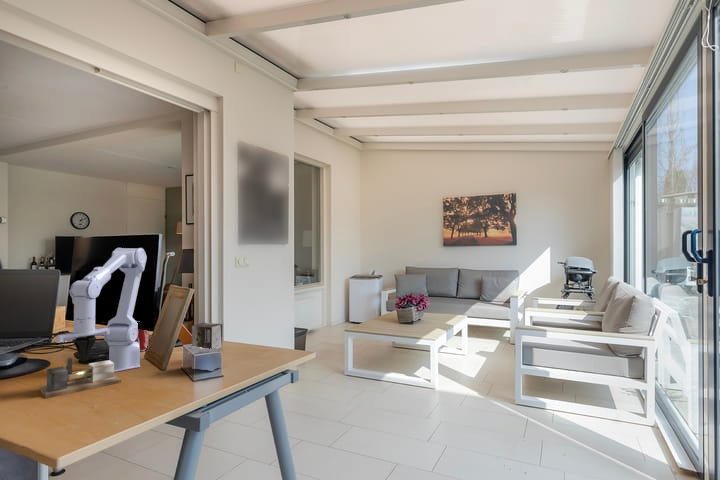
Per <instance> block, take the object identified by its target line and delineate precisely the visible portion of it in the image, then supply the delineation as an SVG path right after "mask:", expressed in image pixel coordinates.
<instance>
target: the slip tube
mask: <svg viewBox="0 0 720 480" xmlns="http://www.w3.org/2000/svg"><path fill="white" fill-rule="evenodd" d="M65 361H66V363H65V369H66V370H68V373H67V382H72V381H77V380H82V379H87V378H91V377H92V370H91V369H89V368H88V369H83V370H77V371H73V357H72V356H70V357H66V360H65Z"/></svg>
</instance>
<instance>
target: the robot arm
mask: <svg viewBox="0 0 720 480" xmlns="http://www.w3.org/2000/svg"><path fill="white" fill-rule="evenodd" d="M147 258H148V257H147V254H146V251H145V249H144V248H143V247H138V248H128V247H127V248H126V247H125V248H124V247H123V248H122V247H117V248H115V249H114V250H113V251H112V253H111V257H110V258H109V259H108V260H107V261H106V262H105V263H104V264H103V266H96V267H94V268H93V270H91V272H89V273H88V274H87V275H85V276H84V277H83V278H82V279H81V280H76V281H75V282H73V283H72V284H71V285H70V289H69V295H70V297H71V299H72V302H71V303H72V304H73V331H71V332H68V333H67V332H66V333H63V334H59V335H56V342H57V343H63V342H67V341H72V343H73V345H74V346H75V348H76V350H77V352H78V356H79V361H80V362H87V361H89V357H90V354H91V351H92V349H93V347H94V345H95V343H96V341H97V336H102V335H103V339H104V341H105V342H106V343H107V346H108V347H109V349H108V350H109V352H108V353H109V354H108V355H109V356H108V359H109V360H110V361H112V362H113V363H114V373H116V372H121V371H127V370H131V369H137V368H141V365H140V363H141V362H140V361H141V360H140V358H141V357H140V356H141V352H140V347H139V344H138V342H135V340H136V339H137V336H138V323H137V322H138V321H137V320H135V318H134V317H133V314H134V310H135V306H136V301H137V296H138V291H139V287H140V282H141V278H142V273H143V272H144V271H145V268H146V267H145V266H146V263H147ZM118 269H119V270H120V271H121V272H123V273H124V275H125V277H124V281H123V285H122V290H121V293H120V299H119V302H118V307H117V311H116V315H115V316H114V317H113V318H111V319H110V320H108V322H107V326H106V327H103V328H101V327H100V328H96V301H97V300H96V298H98V297H99V295H100V293H101V290H102V288H103V287H104V286H105V284H107V283H108V282H109V281H110V280H111V279H112V278H111V277H112V274H113V273H114V272H115V271H116V270H118Z"/></svg>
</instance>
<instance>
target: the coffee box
mask: <svg viewBox="0 0 720 480" xmlns="http://www.w3.org/2000/svg"><path fill="white" fill-rule="evenodd" d="M223 325H224V323H213V322H200V323H197V324H194V325H191V347H192V346H196V347H202V348H209V349H210V348H211V349H212V348H216V349H218V350H219V351H221V355H222V356H223Z"/></svg>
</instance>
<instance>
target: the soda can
mask: <svg viewBox="0 0 720 480" xmlns="http://www.w3.org/2000/svg"><path fill="white" fill-rule="evenodd" d="M149 331H150V330H149ZM149 331H147V330H140V329H138V336H137V339H136V340H135V341H134V342H138V344H139V347H140V351H141V352H146V351H145V350H146V348H147V346H148V347H149V343H150V342H149V337H150V334H149V333H150V332H149Z"/></svg>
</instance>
